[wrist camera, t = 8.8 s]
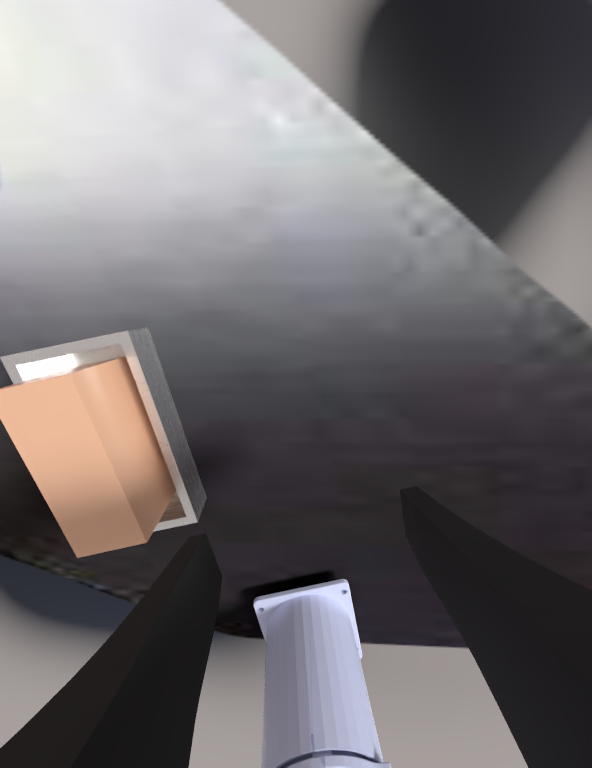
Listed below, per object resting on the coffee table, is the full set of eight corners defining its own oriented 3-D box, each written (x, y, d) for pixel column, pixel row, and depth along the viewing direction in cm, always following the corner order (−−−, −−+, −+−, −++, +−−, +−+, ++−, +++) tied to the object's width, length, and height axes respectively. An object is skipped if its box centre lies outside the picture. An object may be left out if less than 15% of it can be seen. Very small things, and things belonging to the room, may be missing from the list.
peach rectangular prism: (127, 355, 18) (70, 374, 13) (178, 486, 20) (146, 542, 16) (65, 369, 18) (-15, 392, 13) (125, 498, 20) (77, 557, 16)
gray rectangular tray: (206, 497, 21) (197, 522, 19) (115, 517, 21) (94, 543, 19) (148, 327, 18) (127, 330, 15) (37, 350, 18) (-1, 357, 15)
